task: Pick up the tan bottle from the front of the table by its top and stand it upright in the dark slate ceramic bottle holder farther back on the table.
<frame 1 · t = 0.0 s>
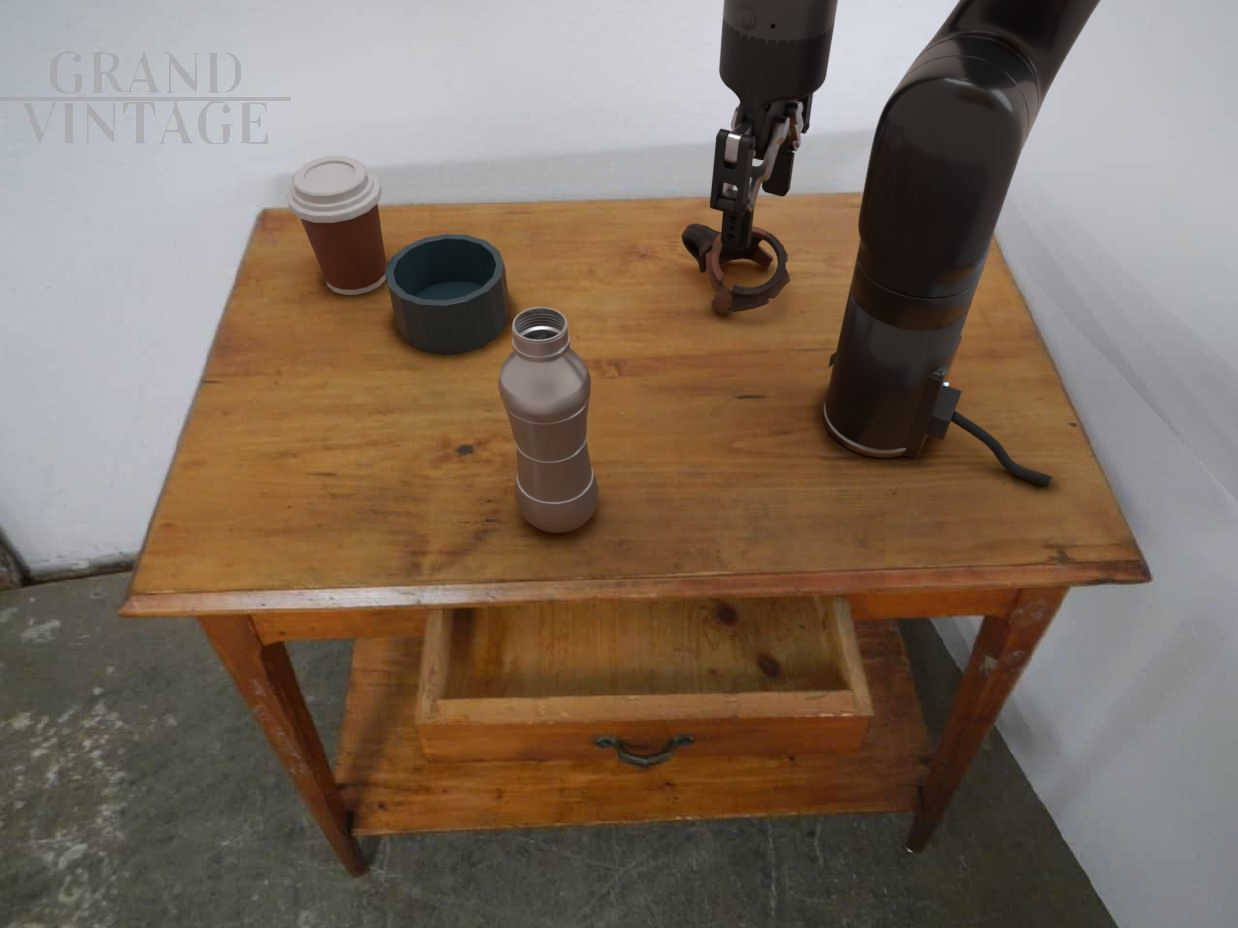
hand: (755, 218, 75), 17 cm above the table, tool pointing down, fingers open, 8 cm apart
tan bottle: (558, 513, 77), on the table
holder: (453, 317, 94), on the table
coffee cup: (357, 277, 99), on the table
brown ring bracket: (731, 288, 97), on the table
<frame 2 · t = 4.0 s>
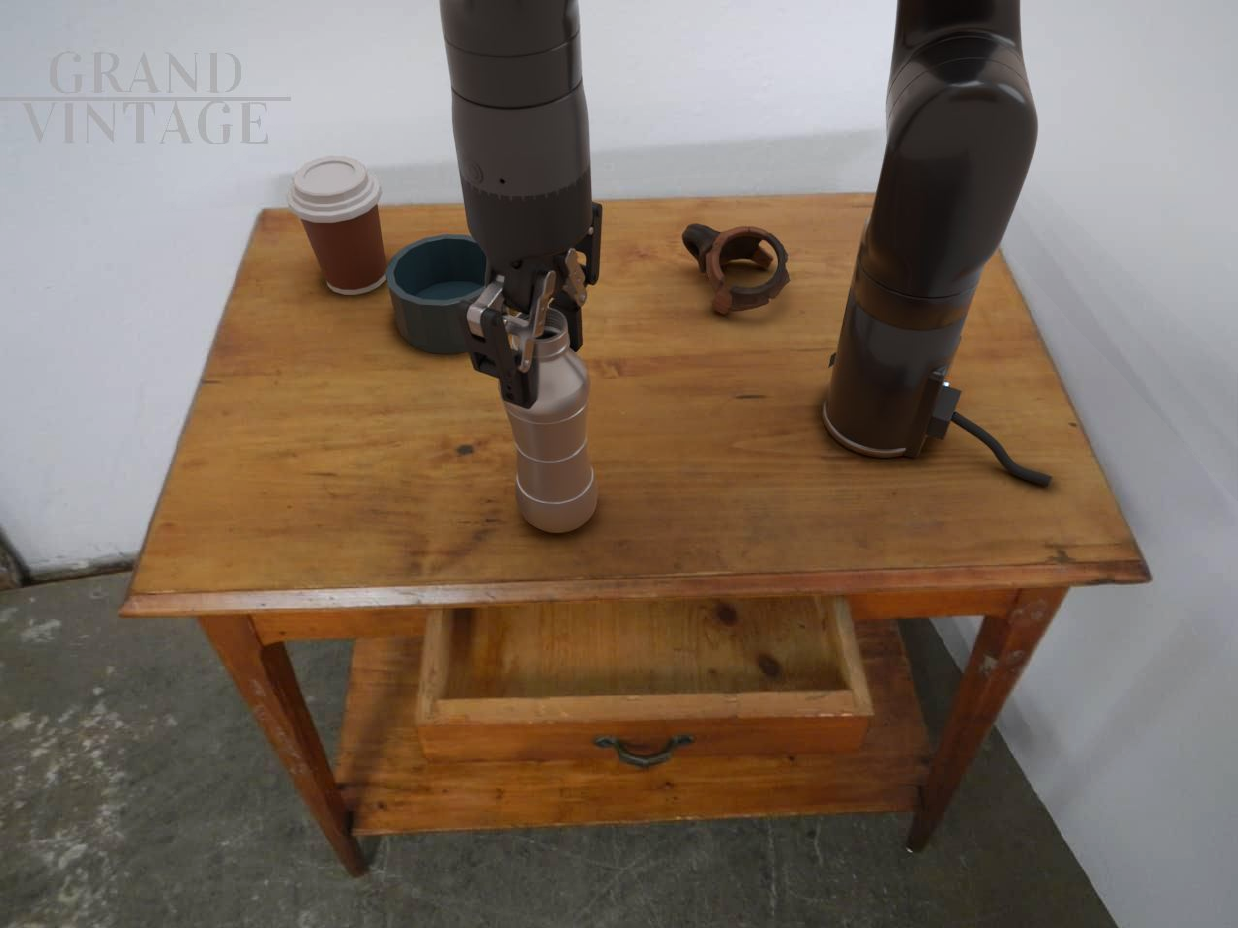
hand: (544, 372, 66), 16 cm above the table, tool pointing down, fingers closed on tan bottle, 6 cm apart
tan bottle: (558, 513, 77), on the table, touching gripper
everything else where it was.
when the fingers open (16 cm above the table, at t = 10.6 s): tan bottle stays where it is, resting on holder.
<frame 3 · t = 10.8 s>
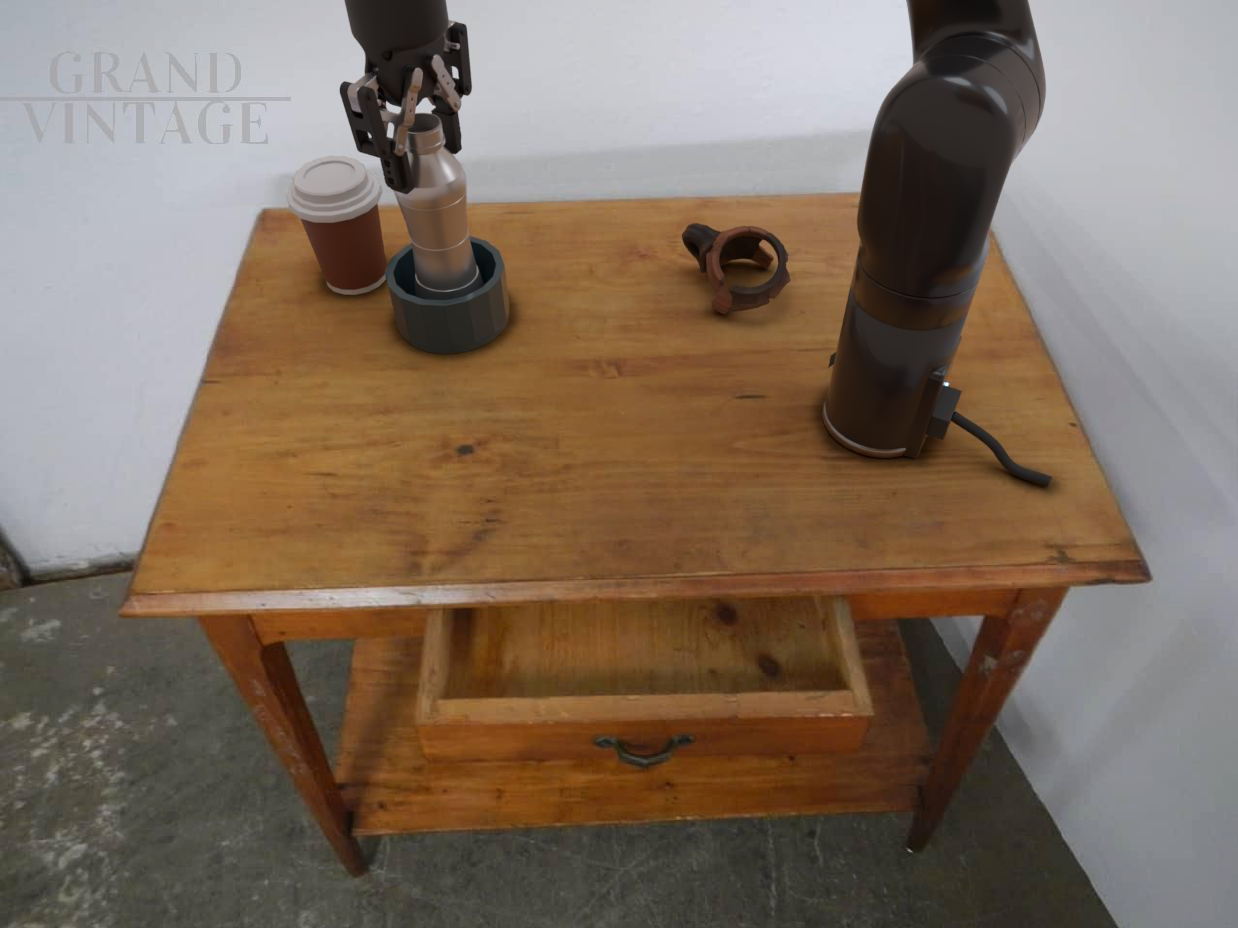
hand: (426, 169, 82), 16 cm above the table, tool pointing down, fingers open, 6 cm apart
tan bottle: (454, 312, 94), point 1 cm above the table, touching holder
everything else where it was.
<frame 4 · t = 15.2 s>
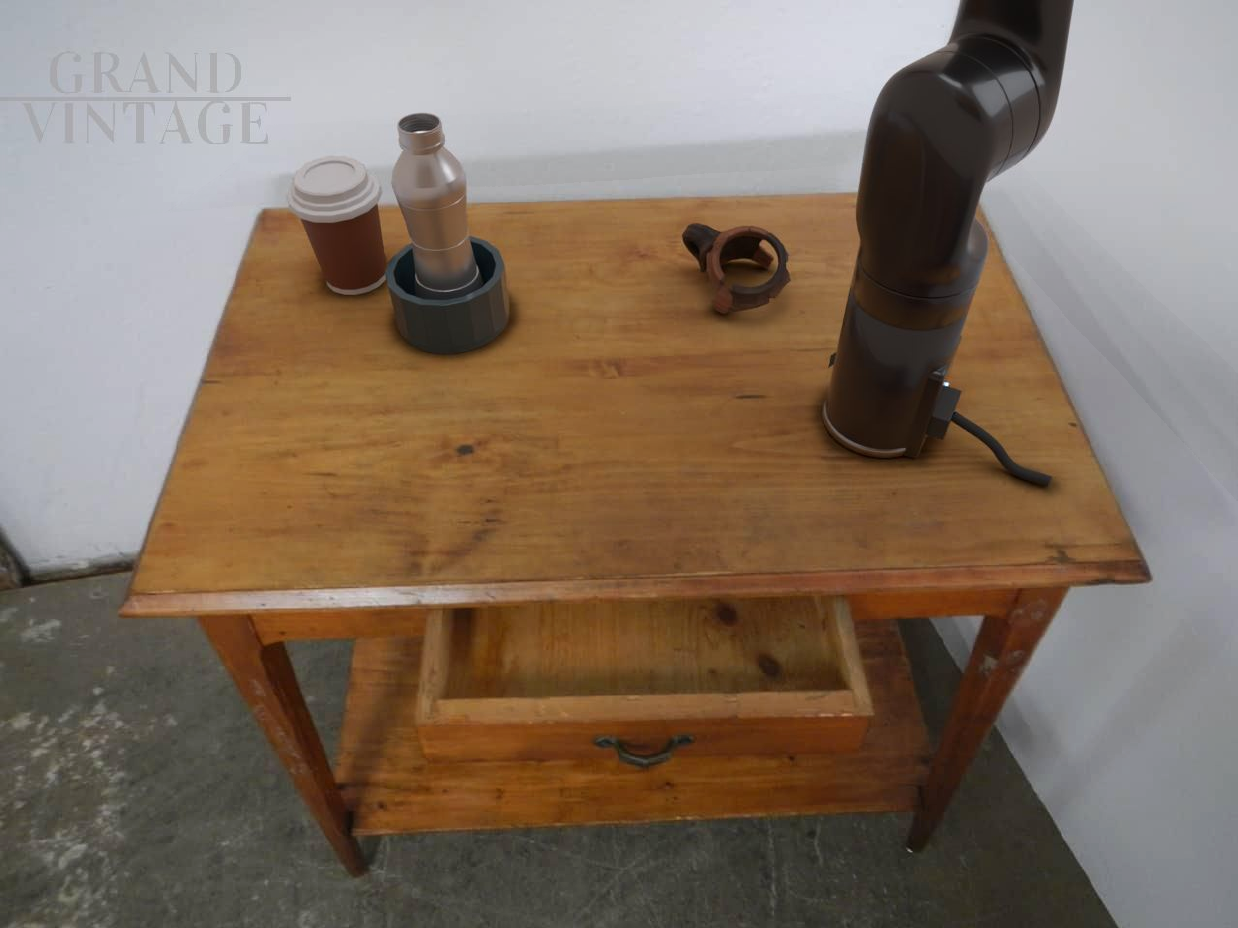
nothing on the table moved.
at the end: tan bottle 0.1 cm off-centre in the holder, point 0.6 cm above the holder's base; tan bottle tilted 0°; the gripper is holding nothing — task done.
